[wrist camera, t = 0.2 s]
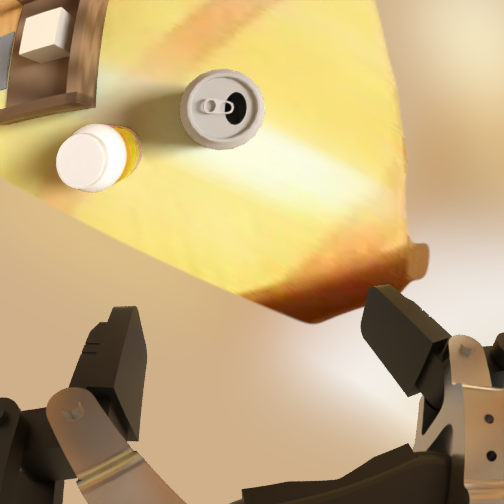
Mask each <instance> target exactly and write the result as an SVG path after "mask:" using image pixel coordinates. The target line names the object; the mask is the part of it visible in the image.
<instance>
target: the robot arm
mask: <svg viewBox="0 0 504 504" xmlns="http://www.w3.org/2000/svg"><path fill="white" fill-rule="evenodd" d="M361 332H362V335H363V338H364V339H365V340H366V341H367V343H368V344H369V346H370V347H371V348H372V350H373V351H374V352H375V353H376V355H377V356H378V358H379V359H380V360H381V361H382V363H383V364H384V365H385V367H386V368H387V370H388V371H389V372H390V373H391V375H392V376H393V378H394V379H395V380H396V382H397V383H398V384H399V386H400V387H401V388H402V390H403V391H404V392H405V394H406V395H407V396H408V397H410V396H412V395H415V394H418V393H420V392H421V393H422V394H423V396H422V397H421V399H420V402H419V412H418V423H417V431H416V439H415V444H414V447H413V449H411V447H410V446H409V444H408V443H407V444H405V445H403V446H401V447H398V448H396V449H393V450H391V451H389V452H386V453H383V454H381V455H378V456H376V457H374V458H372V459H371V460H369V461H368V462H366V463H365V464H363V465H362V466H360V467H358V468H357V469H355V470H354V471H352V472H350V473H349V474H347V475H345V476H344V477H342V478H340V479H337V480H327V481H302V482H300V481H298V482H284V483H279V484H273V485H267V486H261V487H255V488H247V489H242V499H241V500H238V501H235V502H232V503H230V504H504V333H500V334H499V335H498V336H497V338H496V340H495V343H494V344H493V346H486V347H482V345H481V344H480V343H479V342H478V341H476V340H475V339H473V338H471V337H469V336H465V335H455V336H453V337H452V336H451V335H450V334H449V333H448V332H447V331H445V330H444V329H443V328H442V327H441V326H440V325H439V324H438V323H437V322H436V321H435V320H434V319H432V318H431V317H429V315H428V314H427V313H426V312H425V311H422V309H421V308H420V307H419V306H418V305H417V304H416V303H415V302H413V301H411V300H409V299H407V298H406V297H404V296H403V295H402V294H401V293H400V292H398V291H397V290H396V289H395V288H394V287H393V286H391V285H382V286H374V287H371V288H370V289H369V291H368V293H367V298H366V303H365V307H364V312H363V317H362V321H361ZM146 364H147V350H146V344H145V340H144V335H143V331H142V326H141V322H140V317H139V313H138V309H137V307H136V306H128V307H127V306H124V307H114V308H113V309H112V312H111V314H110V317H109V319H108V322H100V323H99V324H98V325H97V326H96V327H95V328H94V329H93V330H91V332H90V333H89V336H88V338H87V341H86V345H85V346H84V348H83V350H82V354H81V356H80V358H79V361H78V363H77V366H76V369H75V371H74V374H73V377H72V379H71V383H70V385H69V388H66V389H63V390H61V391H59V392H57V393H56V394H55V395H53V397H51V399H50V400H49V402H48V404H47V407H45V408H40V409H34V410H26V411H21V410H20V408H19V407H18V406H17V404H16V403H15V402H14V401H13V400H11V399H9V398H0V504H62V502H63V489H64V480H66V479H73V478H78V481H77V485H78V487H79V489H80V491H81V493H82V494H83V496H84V498H85V499H86V501H87V502H88V504H186V503H185V502H184V501H183V500H182V499H181V498H180V497H179V496H178V495H177V494H176V493H175V492H174V491H173V490H172V489H171V488H170V487H169V486H168V485H167V484H166V483H165V482H164V481H163V480H162V479H161V478H160V476H159V475H158V474H157V473H156V472H155V471H154V470H153V469H152V468H151V466H150V465H149V464H148V463H147V462H146V461H145V460H144V458H143V457H142V456H141V455H140V454H139V453H138V452H137V451H134V450H133V449H132V448H131V447H130V446H129V444H128V443H127V441H139V428H140V416H141V406H142V397H143V387H144V379H145V371H146Z"/></svg>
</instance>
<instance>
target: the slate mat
mask: <svg viewBox="0 0 504 504" xmlns="http://www.w3.org/2000/svg"><path fill="white" fill-rule="evenodd" d="M14 35H15V32H12V33H10V34H7V35H5V36H2V37H0V90H3V89H6V86H7V77H8V69H9V62H10V56H11V50H12V45H13V39H14Z"/></svg>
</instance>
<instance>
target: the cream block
mask: <svg viewBox="0 0 504 504" xmlns="http://www.w3.org/2000/svg"><path fill="white" fill-rule="evenodd" d="M75 21H76V20H75V19H74V18H73V17H72V16H71V15H70V14H69V13H68V12H67V11H66V10H64V9H63V8H62V7H59V8H56V9H53V10H49V11H46V12H43V13H40V14H37V15H34V16H31V17H29V18H26V21H25V26H24V30H23V35H22V40H21V45H20V51H19V55H21V56H23V57H26V58H29V59H31V60H34V61H36V62H39V63H44V62H48V61H51V60H55V59H60V58H64V57H68V56H70V51H71V44H72V37H73V32H74V26H75Z"/></svg>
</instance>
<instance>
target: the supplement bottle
mask: <svg viewBox="0 0 504 504" xmlns="http://www.w3.org/2000/svg"><path fill="white" fill-rule="evenodd" d="M141 156H142V146H141V142H140V140H139V138H138V136H137V135H136V134H135V132H133V131H132V130H131V129H129V128H127V127H124V126H119V125H109V124H99V123H94V124H88V125H85V126H83V127H81V128H79V129H78V130H77V131H75V132H74V133H73V134H72V135H71V136H70V137H69V138H68V139H66V140H65V141H64V142H63V144H62V145H61V147H60V148H59V150H58V153H57V157H56V169H57V172H58V175H59V177H60V179H61V180H62V181H63V182H64V183H65V184H66V185H68V186H69V187H72V188H76V189H79V190H81V191H84V192H91V193H93V192H100V191H103V190H105V189H107V188H109V187H110V186H112V185H114V184H115V183H117V182H119V181H120V180H122V179H124V178H126V177H127V176H129V175H130V174H131V173H133V172H134V170H135V169H136V168H137V167H138V165H139V163H140V160H141Z"/></svg>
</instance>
